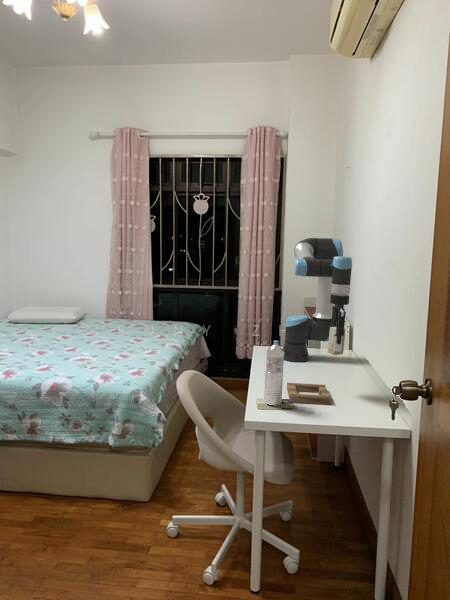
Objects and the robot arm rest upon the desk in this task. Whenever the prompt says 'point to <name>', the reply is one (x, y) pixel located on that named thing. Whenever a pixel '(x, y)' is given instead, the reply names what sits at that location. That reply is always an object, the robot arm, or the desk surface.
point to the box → (332, 342)
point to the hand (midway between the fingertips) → (335, 349)
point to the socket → (304, 398)
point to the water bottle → (274, 375)
